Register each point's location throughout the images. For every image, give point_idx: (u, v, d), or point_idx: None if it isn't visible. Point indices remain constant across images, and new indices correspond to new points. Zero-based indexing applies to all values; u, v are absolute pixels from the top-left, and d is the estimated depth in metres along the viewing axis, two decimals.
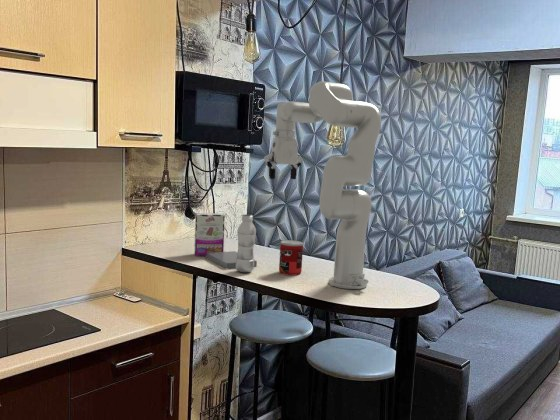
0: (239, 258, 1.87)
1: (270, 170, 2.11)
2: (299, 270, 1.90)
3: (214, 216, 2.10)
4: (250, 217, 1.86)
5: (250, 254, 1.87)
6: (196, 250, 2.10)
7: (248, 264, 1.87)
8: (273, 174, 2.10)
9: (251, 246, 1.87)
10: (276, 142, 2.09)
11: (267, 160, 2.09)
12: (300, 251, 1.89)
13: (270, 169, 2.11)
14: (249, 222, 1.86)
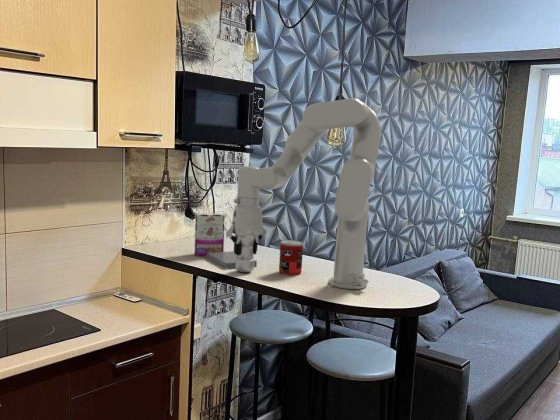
0: (239, 258, 1.87)
1: (235, 245, 1.86)
2: (299, 270, 1.90)
3: (214, 216, 2.10)
4: None
5: (249, 254, 1.87)
6: (196, 250, 2.10)
7: (248, 264, 1.87)
8: (238, 250, 1.86)
9: (251, 246, 1.87)
10: (237, 211, 1.83)
11: (230, 235, 1.84)
12: (300, 251, 1.89)
13: (235, 244, 1.86)
14: None
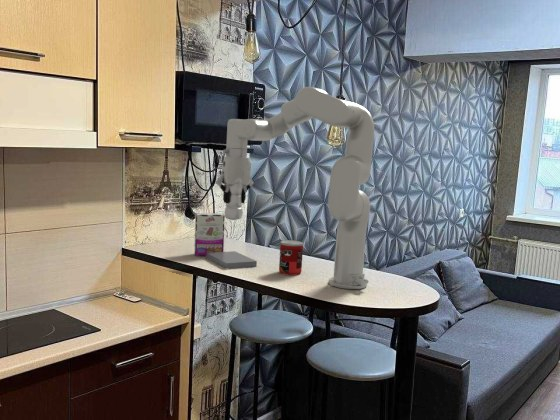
0: (228, 206, 1.98)
1: (224, 194, 1.97)
2: (299, 270, 1.90)
3: (214, 216, 2.10)
4: None
5: (238, 202, 1.98)
6: (196, 250, 2.10)
7: (237, 212, 1.98)
8: (227, 198, 1.97)
9: (239, 195, 1.98)
10: (226, 161, 1.95)
11: (220, 184, 1.96)
12: (300, 251, 1.89)
13: (224, 193, 1.97)
14: None
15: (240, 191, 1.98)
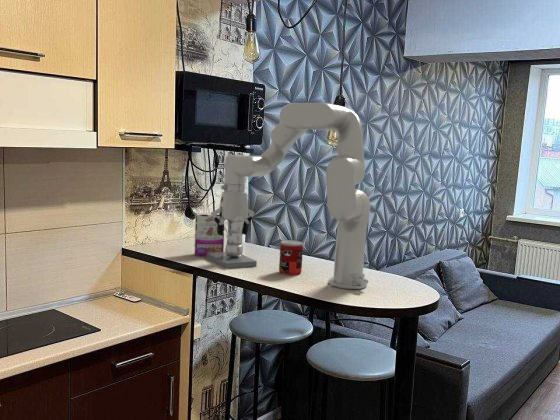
0: (229, 244, 2.01)
1: (218, 226, 1.99)
2: (299, 270, 1.90)
3: None
4: None
5: (238, 240, 2.01)
6: (196, 250, 2.10)
7: (237, 250, 2.01)
8: (221, 231, 1.98)
9: (240, 232, 2.01)
10: (224, 197, 1.97)
11: (214, 216, 1.97)
12: (300, 251, 1.89)
13: (218, 225, 1.98)
14: None
15: (241, 229, 2.01)
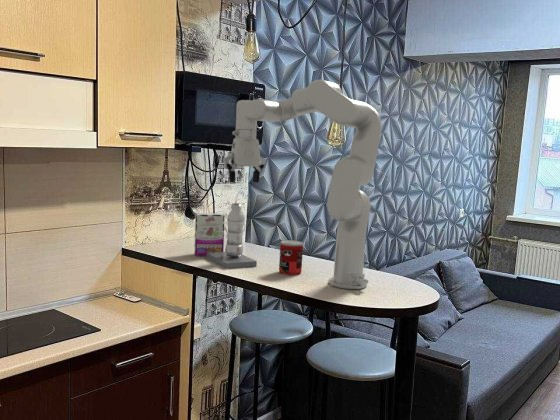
0: (229, 244, 2.01)
1: (230, 173, 1.96)
2: (299, 270, 1.90)
3: (214, 216, 2.10)
4: (239, 205, 2.00)
5: (238, 240, 2.01)
6: (196, 250, 2.10)
7: (237, 250, 2.01)
8: (233, 177, 1.95)
9: (240, 232, 2.01)
10: (236, 142, 1.94)
11: (226, 162, 1.94)
12: (300, 251, 1.89)
13: (230, 172, 1.96)
14: (238, 210, 2.00)
15: (241, 229, 2.01)
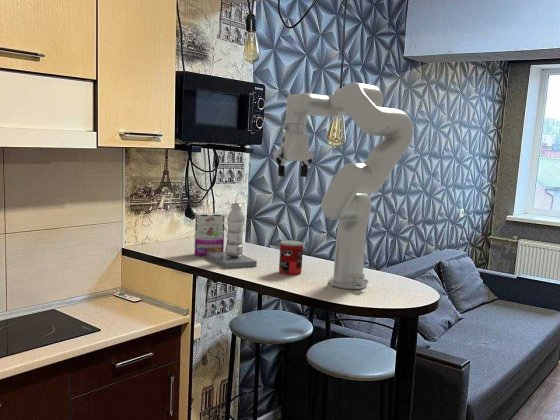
0: (229, 244, 2.01)
1: (279, 167, 1.96)
2: (299, 270, 1.90)
3: (214, 216, 2.10)
4: (239, 205, 2.00)
5: (238, 240, 2.01)
6: (196, 250, 2.10)
7: (237, 250, 2.01)
8: (282, 171, 1.95)
9: (240, 232, 2.01)
10: (286, 137, 1.94)
11: (276, 156, 1.94)
12: (300, 251, 1.89)
13: (279, 166, 1.95)
14: (238, 210, 2.00)
15: (241, 229, 2.01)
